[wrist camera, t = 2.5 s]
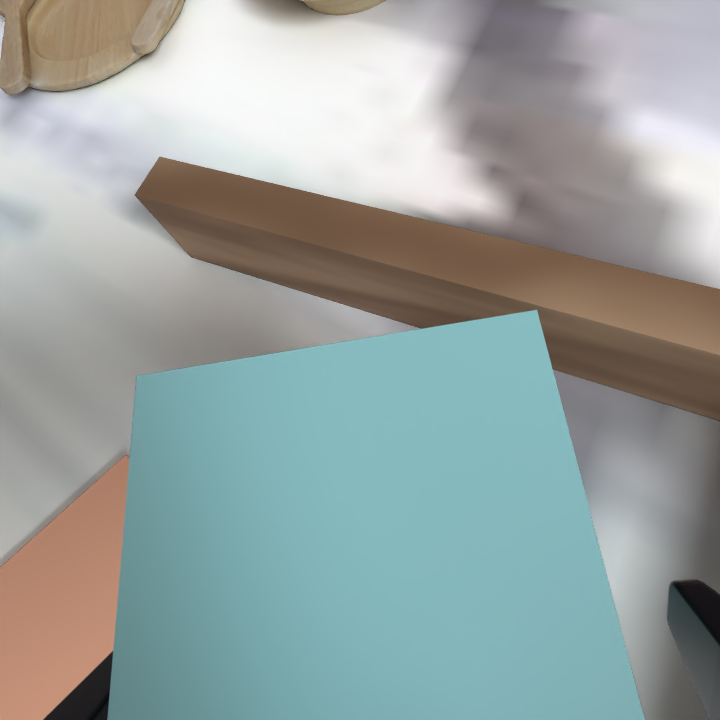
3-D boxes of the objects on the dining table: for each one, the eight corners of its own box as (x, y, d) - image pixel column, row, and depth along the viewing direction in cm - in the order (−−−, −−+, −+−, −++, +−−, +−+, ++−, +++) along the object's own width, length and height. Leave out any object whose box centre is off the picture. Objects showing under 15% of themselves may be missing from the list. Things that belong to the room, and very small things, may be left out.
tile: (271, 667, 16) (268, 669, 16) (34, 906, 15) (27, 913, 15) (129, 456, 20) (125, 455, 20) (-68, 634, 19) (-76, 635, 19)
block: (511, 627, 16) (691, 896, 4) (359, 639, 16) (92, 897, 4) (481, 471, 17) (536, 309, 6) (346, 487, 18) (136, 375, 6)
